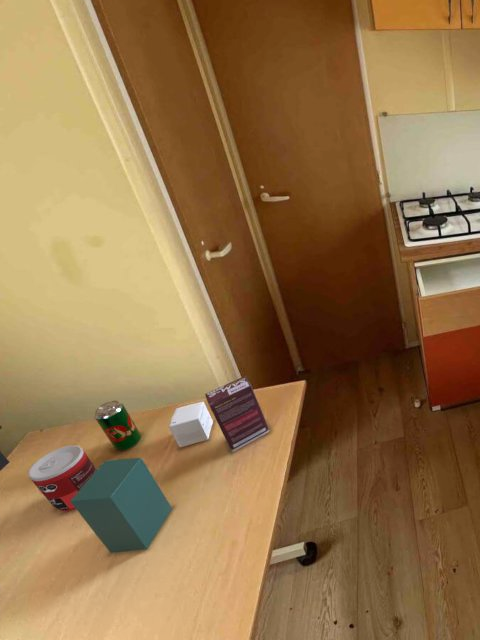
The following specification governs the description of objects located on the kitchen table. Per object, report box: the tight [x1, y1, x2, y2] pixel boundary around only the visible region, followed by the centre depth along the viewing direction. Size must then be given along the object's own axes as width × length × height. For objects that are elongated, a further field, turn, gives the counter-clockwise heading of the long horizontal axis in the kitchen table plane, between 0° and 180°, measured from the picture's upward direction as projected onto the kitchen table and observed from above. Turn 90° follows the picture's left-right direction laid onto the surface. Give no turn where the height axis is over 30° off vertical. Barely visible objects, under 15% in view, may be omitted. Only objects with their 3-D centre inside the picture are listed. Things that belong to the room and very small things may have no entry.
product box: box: [168, 401, 214, 448], centre depth 102 cm, size 6×6×7 cm
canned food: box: [27, 444, 98, 513], centre depth 88 cm, size 8×8×11 cm
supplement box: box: [204, 375, 270, 453], centre depth 100 cm, size 9×5×16 cm, turn 135°
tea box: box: [70, 457, 173, 554], centre depth 80 cm, size 6×16×8 cm
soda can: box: [94, 400, 142, 452], centre depth 99 cm, size 5×5×12 cm
